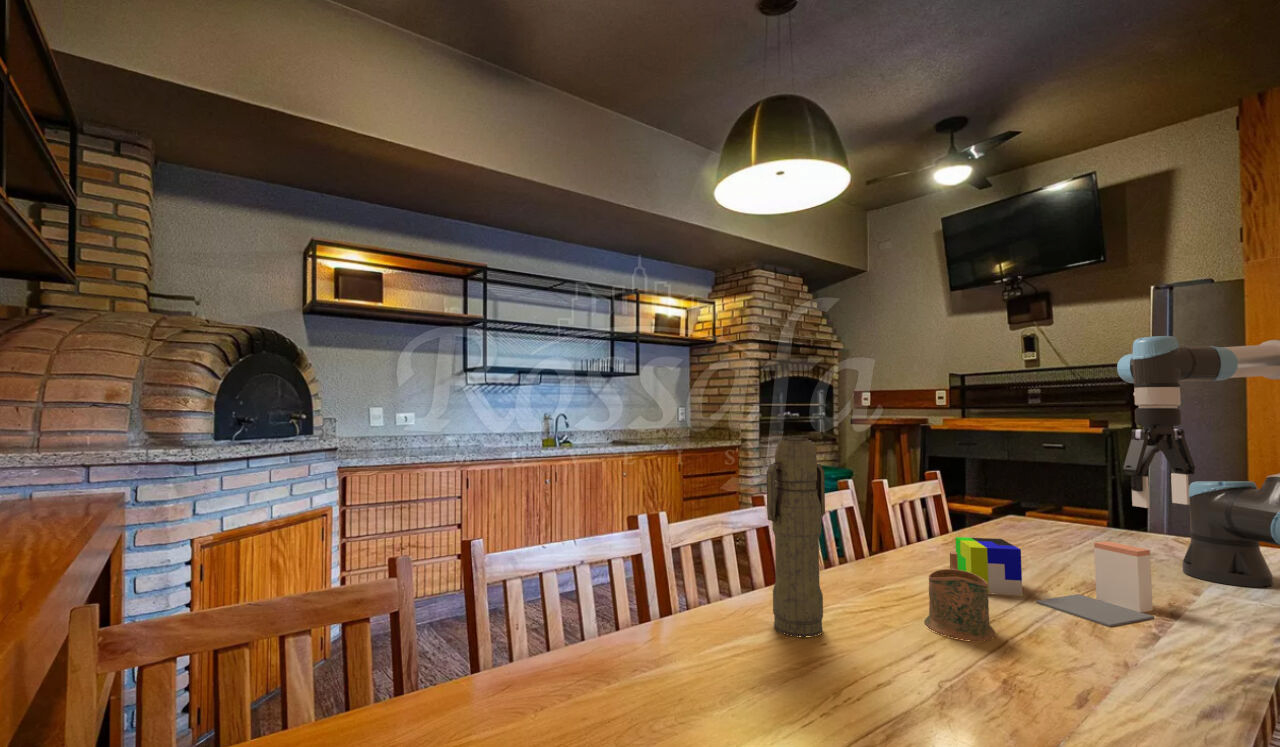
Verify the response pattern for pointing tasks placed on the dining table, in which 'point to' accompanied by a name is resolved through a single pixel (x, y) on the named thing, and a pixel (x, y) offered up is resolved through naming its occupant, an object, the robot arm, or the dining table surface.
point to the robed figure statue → (796, 536)
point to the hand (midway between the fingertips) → (1161, 505)
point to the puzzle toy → (992, 563)
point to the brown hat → (959, 604)
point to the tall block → (1123, 576)
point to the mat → (1095, 610)
